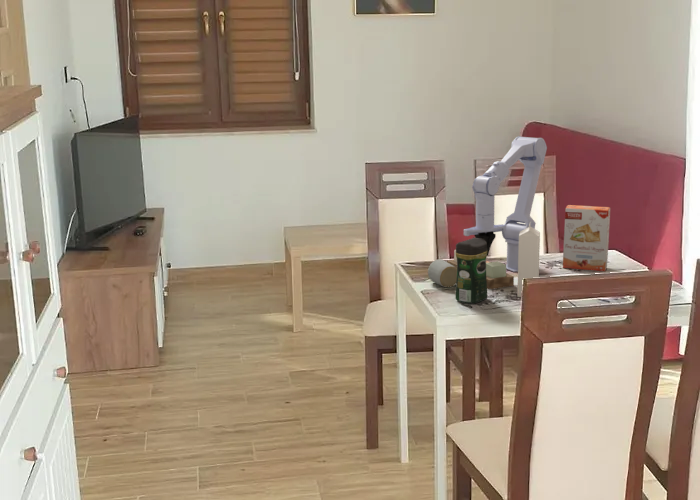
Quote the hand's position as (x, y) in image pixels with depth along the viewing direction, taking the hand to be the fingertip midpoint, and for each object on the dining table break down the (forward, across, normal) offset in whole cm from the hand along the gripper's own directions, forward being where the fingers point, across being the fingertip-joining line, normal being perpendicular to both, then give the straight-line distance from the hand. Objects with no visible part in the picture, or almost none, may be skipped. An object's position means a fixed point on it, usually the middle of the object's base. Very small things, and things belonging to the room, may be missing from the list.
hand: (484, 255), depth 274 cm
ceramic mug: (+8, +13, -1) cm, 16 cm away
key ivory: (+5, 0, -13) cm, 14 cm away
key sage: (+5, 0, +6) cm, 8 cm away
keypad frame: (+8, 0, -3) cm, 9 cm away
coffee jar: (+8, +15, +17) cm, 24 cm away
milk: (+8, -3, +20) cm, 22 cm away
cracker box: (+8, -37, +3) cm, 38 cm away
